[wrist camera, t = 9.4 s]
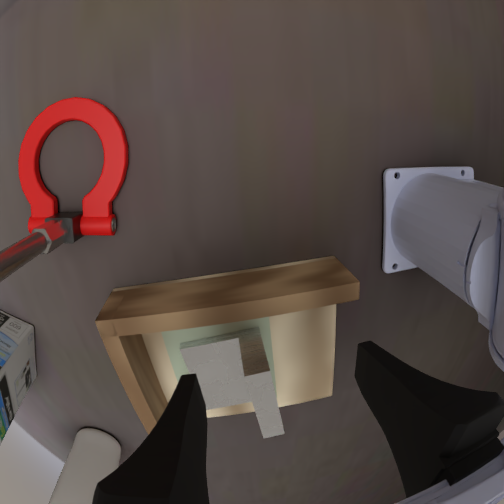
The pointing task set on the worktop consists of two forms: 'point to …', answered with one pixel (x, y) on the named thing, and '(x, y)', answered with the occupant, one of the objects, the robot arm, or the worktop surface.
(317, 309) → the board
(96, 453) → the drinking glass
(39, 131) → the tow hook
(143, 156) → the worktop surface
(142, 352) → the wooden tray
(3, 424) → the light bulb box
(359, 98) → the worktop surface
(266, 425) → the bracket
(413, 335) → the worktop surface
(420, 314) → the worktop surface
